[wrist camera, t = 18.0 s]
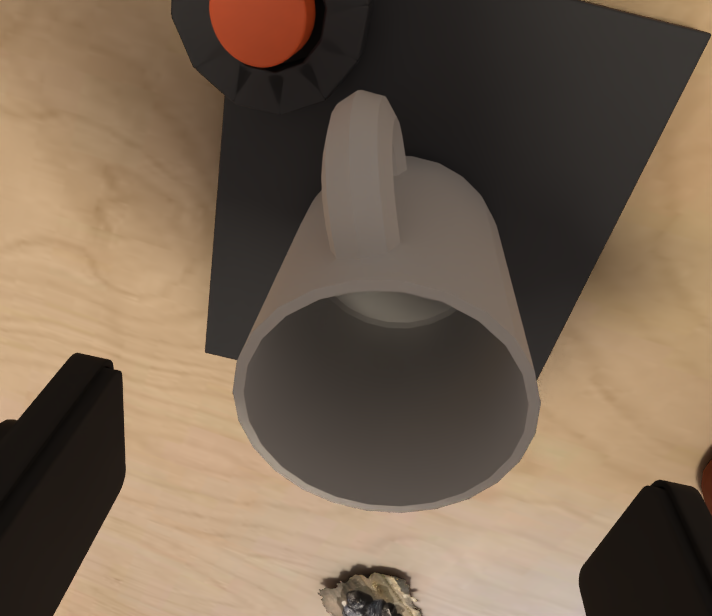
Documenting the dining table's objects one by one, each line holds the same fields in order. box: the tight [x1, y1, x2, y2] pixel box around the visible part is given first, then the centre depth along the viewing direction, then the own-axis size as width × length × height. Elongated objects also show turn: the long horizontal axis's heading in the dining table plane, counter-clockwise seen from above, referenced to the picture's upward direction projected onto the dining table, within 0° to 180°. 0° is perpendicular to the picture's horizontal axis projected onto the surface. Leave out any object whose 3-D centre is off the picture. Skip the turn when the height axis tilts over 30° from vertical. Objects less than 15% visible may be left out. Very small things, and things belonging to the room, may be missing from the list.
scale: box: [171, 0, 711, 381], centre depth 20 cm, size 17×15×3 cm
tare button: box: [209, 0, 316, 68], centre depth 15 cm, size 3×3×2 cm
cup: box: [233, 90, 541, 513], centre depth 16 cm, size 7×10×9 cm
